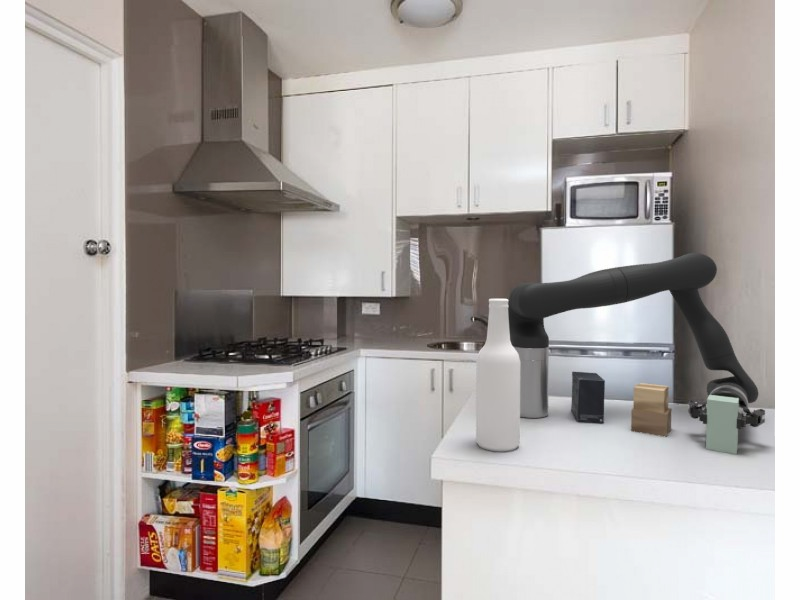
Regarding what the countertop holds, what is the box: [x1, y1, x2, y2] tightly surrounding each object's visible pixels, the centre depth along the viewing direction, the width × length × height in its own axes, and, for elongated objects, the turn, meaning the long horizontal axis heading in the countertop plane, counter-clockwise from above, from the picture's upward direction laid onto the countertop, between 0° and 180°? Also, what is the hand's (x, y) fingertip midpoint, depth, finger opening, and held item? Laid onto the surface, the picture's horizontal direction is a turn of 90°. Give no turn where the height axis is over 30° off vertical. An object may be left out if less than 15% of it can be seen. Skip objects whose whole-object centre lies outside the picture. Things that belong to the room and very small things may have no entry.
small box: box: [570, 371, 606, 424], centre depth 120 cm, size 11×6×10 cm, turn 168°
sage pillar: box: [705, 395, 739, 455], centre depth 97 cm, size 5×5×10 cm
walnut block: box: [630, 406, 672, 438], centre depth 109 cm, size 7×7×5 cm
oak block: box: [632, 382, 670, 414], centre depth 109 cm, size 6×6×5 cm
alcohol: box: [475, 298, 521, 453], centre depth 99 cm, size 9×9×30 cm
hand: (721, 421), depth 95 cm, fingers closed on sage pillar, 5 cm apart
